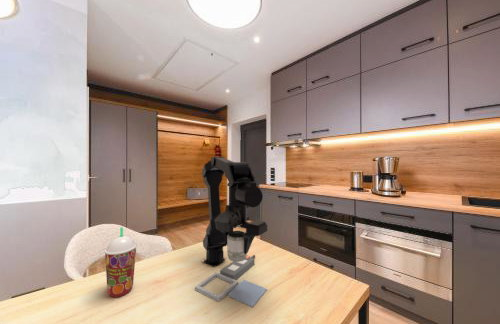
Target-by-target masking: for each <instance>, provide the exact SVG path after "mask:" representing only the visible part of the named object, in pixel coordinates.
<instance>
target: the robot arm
mask: <svg viewBox="0 0 500 324" xmlns="http://www.w3.org/2000/svg"><path fill="white" fill-rule="evenodd" d="M223 175H224V177H225V178H226V179H227V181H228V182H227V187H228V204H227V205H225V210H224V212H221V197H220V185H221V183H222V181H223ZM201 176H202V177H201V178H203V183H204V185H205V186H206V188H207V195H208V197H207V199H208V215H209V218H208V219H209V223H208V226H207V228H206V230H205V235H204V237H203V240H202V245H203V248H204V249H205V251H206V259H205V260H203V263H205V264H207V265H209V266H211V267H217V266H219V265H220V264H222V263H223V262H225V261H226V258H224V247H227V236H228V234H229V233H230V232H232V231H234V229H236V228H241V229H245V231H244V232H245V233H243V234H242V235H243V237H244V253H245V254H247V255H248V253H249V250H250V248H251V246H252V244H253V242H254V239H255V237H259V236H261V235H263V234H264V233H266V232H267V231H268V224H267V223H266V221H262V220H258V219H256V220H253V221H250V222H248V221H249V220H250V217H249V216H248V214H247V213H248V212H247V210H248V208H257V207H258V206H260V204H261V203H262V201H263V196H264V195H263V192H262V190H261V189H260V188H259V187H258V186H257V182H256V178H255V176H254V173H253V172H252V169H251V166H250V165H249V162H246V161H245V162H243V161H236V162H234V161H232V160H230V159H227V158H225V157H224V156H212V157H211V158H210V160H209V161H208V162H206V163H205V164H204V165H203V167H202V170H201Z"/></svg>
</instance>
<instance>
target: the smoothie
mask: <svg viewBox="0 0 500 324" xmlns="http://www.w3.org/2000/svg"><path fill="white" fill-rule="evenodd" d="M119 233H120V234H119V235H118V236H117V237H114V238H113V239H112V240H111V241H110V242H109V243H108V245H107V247H106V249H105V250H104V253H105V254H104V257H105V258H104V259H105V273H106V289H107V290H106V292H107V293H108V295H109V296H110V297H112V298H119V297H122V296H124V295H126V294H128V293H129V292H130V291H131V290H132V287H133V285H134V279H135V266H136V265H135V264H136V255H137V253H136V252H137V246H138V245H137V243H136V242H135V240H134V239H133V238H132V237H131V236H128V235H124V227H122V226H121V227H120V232H119Z"/></svg>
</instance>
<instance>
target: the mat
mask: <svg viewBox="0 0 500 324" xmlns="http://www.w3.org/2000/svg"><path fill="white" fill-rule="evenodd" d="M267 291H268V288H267V287H263V286H261V285H258V284H255V283H253V282H250V281H248V280H245V279H243V280H241V282H240V283H238V285H237V286H236V287H235V288H234V289H233V290H231V291H230V292H229V293H228V294H227V297H229V298H232V299H233V300H236V301H238V302H240V303H242V304H244V305H246V306H249V307H251V308H254V307H255V305H256V304H257V303H258V302H259V301H260V299H261V298H262V297H263V296H264V295H265V293H266V292H267Z"/></svg>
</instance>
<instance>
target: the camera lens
mask: <svg viewBox="0 0 500 324" xmlns="http://www.w3.org/2000/svg"><path fill="white" fill-rule="evenodd" d="M245 232H246V231H242V230H233V231H232V232H230V233H229V234H228V236H227V244H226V247H227V251H226V253H227V259H228V260H229V261H231V262H233V261H234V262H240V261H243V260H245V259H246V255H248V253H247V254H245V253H244V237H243V235H242V234H243V233H245Z"/></svg>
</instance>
